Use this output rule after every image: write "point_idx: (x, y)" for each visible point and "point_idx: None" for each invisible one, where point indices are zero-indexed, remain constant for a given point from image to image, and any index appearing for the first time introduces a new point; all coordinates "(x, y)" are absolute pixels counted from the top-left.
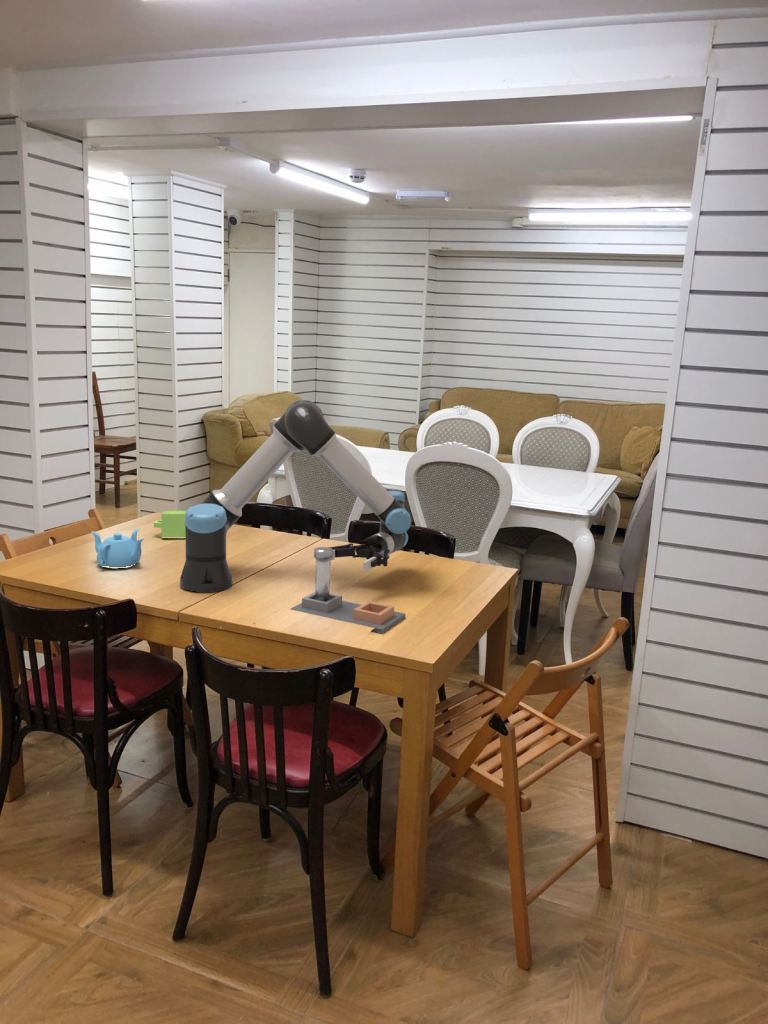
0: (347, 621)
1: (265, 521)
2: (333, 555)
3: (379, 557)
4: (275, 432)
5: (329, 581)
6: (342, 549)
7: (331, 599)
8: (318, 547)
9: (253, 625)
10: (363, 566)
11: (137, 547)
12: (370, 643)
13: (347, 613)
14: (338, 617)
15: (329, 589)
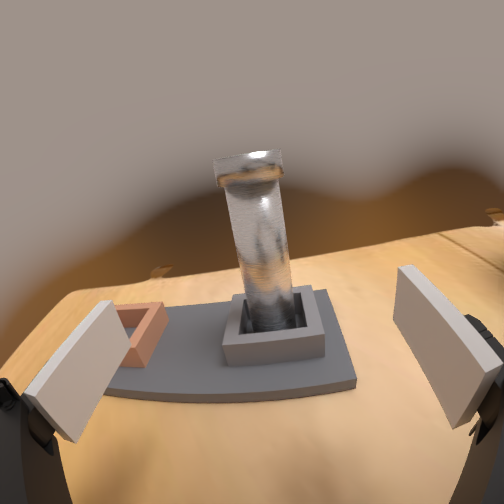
0: (177, 307)
1: None
2: (456, 386)
3: (8, 391)
4: None
5: (240, 268)
6: (492, 471)
7: (238, 314)
8: (276, 149)
9: (327, 254)
10: (119, 323)
11: None
12: (132, 293)
13: (189, 332)
14: (201, 311)
15: (245, 293)
